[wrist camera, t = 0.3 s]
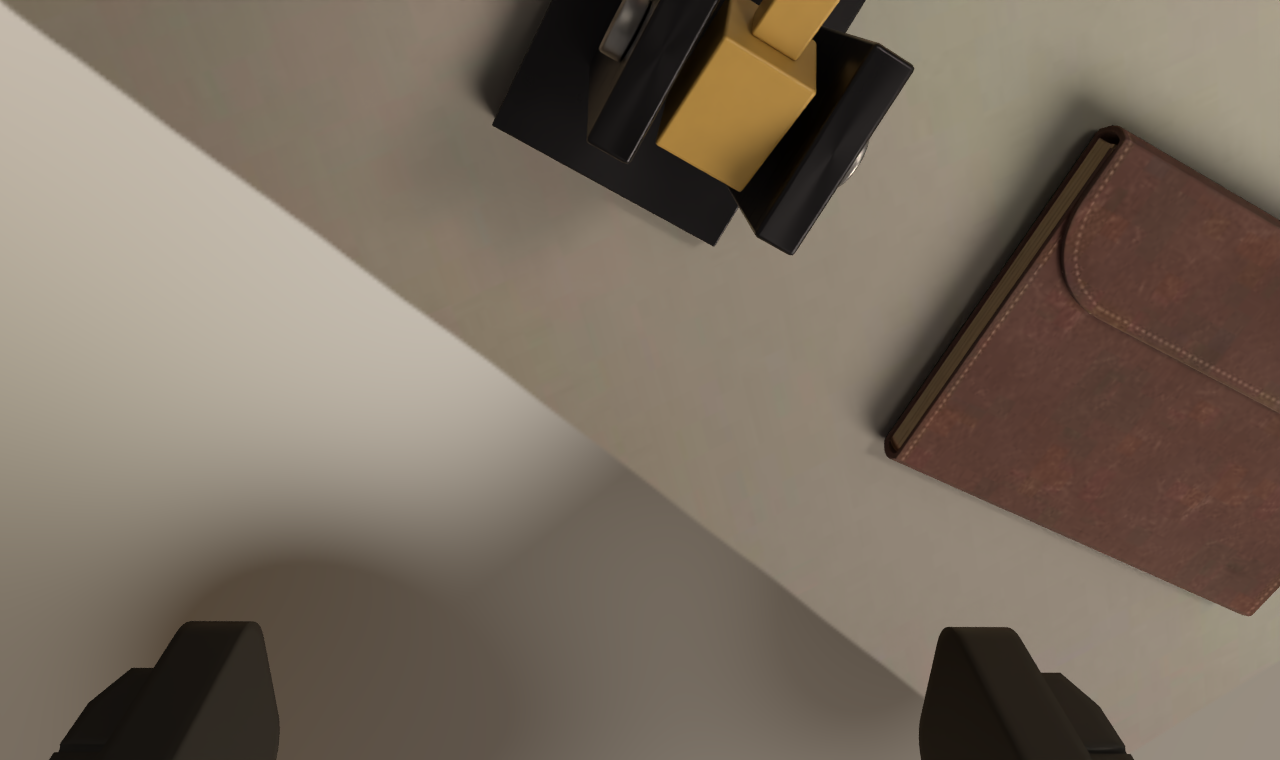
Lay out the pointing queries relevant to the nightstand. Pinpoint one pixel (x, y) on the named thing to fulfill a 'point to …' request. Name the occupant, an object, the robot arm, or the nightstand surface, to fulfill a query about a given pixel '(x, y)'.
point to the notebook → (1125, 377)
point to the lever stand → (635, 99)
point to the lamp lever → (743, 86)
